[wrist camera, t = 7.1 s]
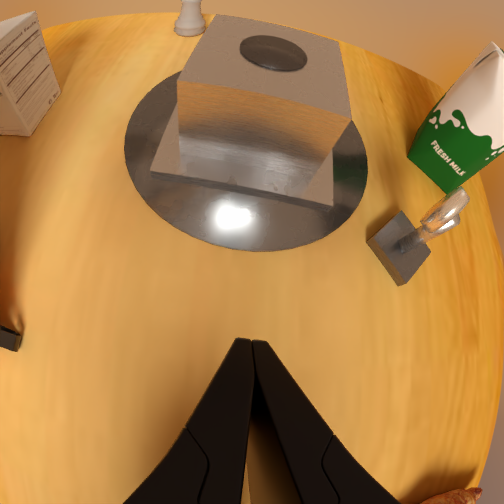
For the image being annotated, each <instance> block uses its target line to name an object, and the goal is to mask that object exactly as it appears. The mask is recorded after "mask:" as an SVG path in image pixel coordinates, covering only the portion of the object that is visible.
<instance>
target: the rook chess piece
mask: <svg viewBox="0 0 504 504" xmlns="http://www.w3.org/2000/svg"><path fill="white" fill-rule="evenodd" d="M181 1H182V9H181V13H180V16H179V17H178V19H177V20H176V21H175V28H174V31H175V32H176V33H177V34H178V35H180V36H184V37H193V36H197V35H200V34H201V33H203V32H204V30H205V29H206V28H205V26H204V25H205V24H206V23H205V20H204V19H203V16H202V15H201V8H200V4H201V1H202V0H181Z"/></svg>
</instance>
